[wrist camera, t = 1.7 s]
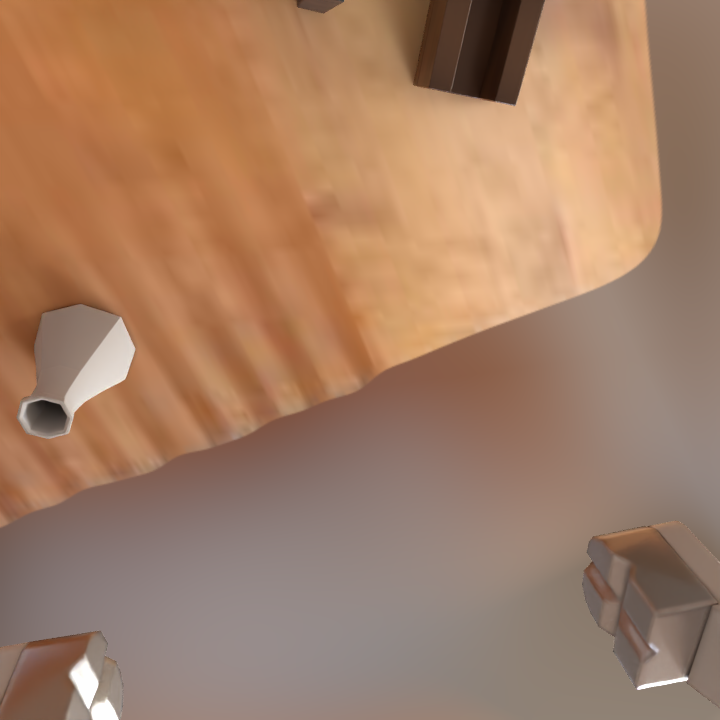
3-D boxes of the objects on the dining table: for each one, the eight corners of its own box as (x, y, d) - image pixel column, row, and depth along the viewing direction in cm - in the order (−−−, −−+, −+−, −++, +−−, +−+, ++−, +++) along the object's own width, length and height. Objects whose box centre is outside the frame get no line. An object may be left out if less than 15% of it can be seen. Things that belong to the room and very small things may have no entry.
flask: (28, 299, 41) (-32, 365, 33) (133, 304, 43) (102, 368, 34) (41, 385, 45) (-10, 465, 36) (138, 387, 46) (111, 464, 37)
